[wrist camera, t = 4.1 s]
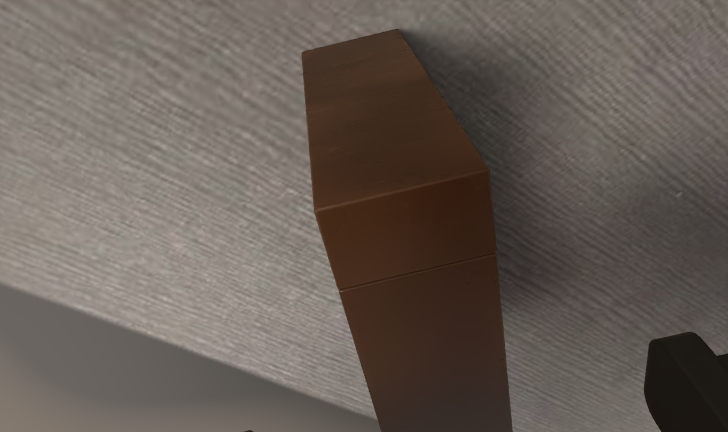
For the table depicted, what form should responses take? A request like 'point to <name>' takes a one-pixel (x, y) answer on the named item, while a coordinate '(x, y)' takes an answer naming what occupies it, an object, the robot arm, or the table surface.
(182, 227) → the table surface
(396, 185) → the brown wooden box
